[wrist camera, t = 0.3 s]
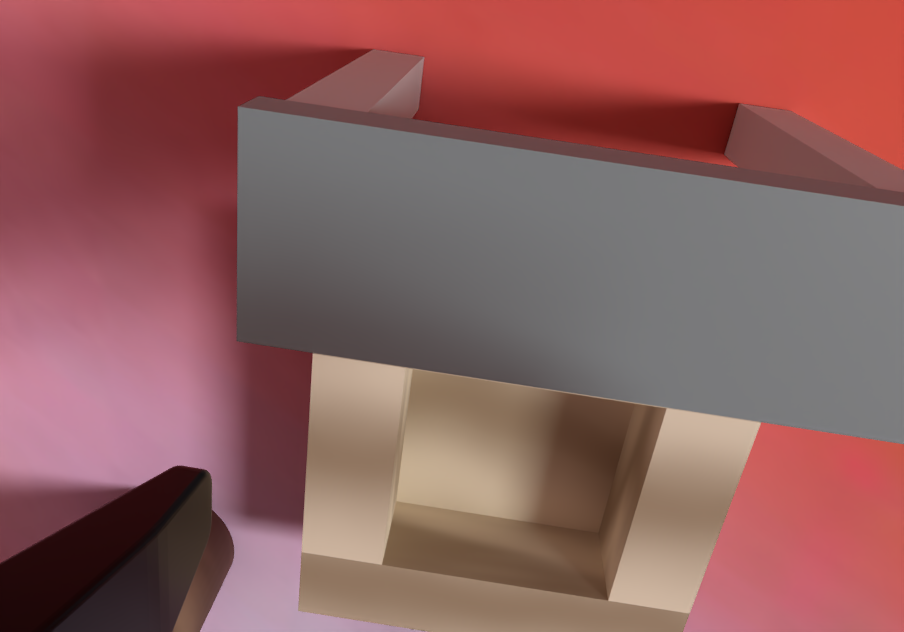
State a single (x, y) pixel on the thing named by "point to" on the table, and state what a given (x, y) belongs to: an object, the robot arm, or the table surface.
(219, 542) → the peg
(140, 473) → the table surface
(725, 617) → the table surface
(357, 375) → the socket block
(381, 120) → the grey arch frame
